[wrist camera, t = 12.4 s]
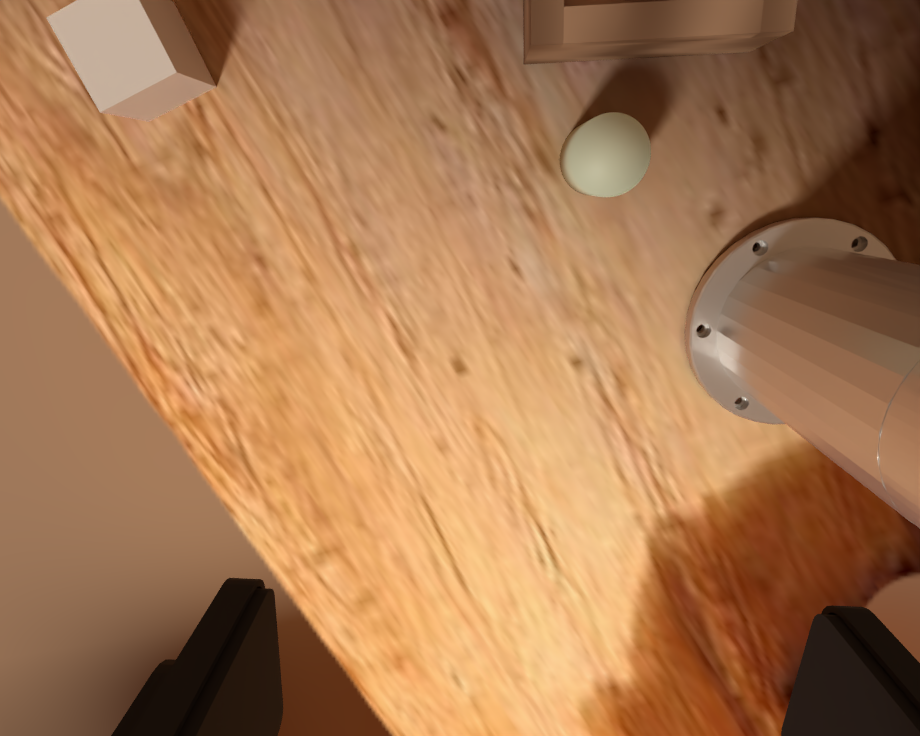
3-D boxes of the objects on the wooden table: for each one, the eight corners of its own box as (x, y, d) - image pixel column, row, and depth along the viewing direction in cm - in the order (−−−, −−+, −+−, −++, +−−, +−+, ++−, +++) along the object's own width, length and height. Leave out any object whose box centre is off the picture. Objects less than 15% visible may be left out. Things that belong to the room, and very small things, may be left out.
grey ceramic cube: (174, 2, 31) (125, -27, 26) (217, 87, 32) (176, 72, 27) (105, 40, 31) (46, 17, 27) (149, 121, 32) (100, 112, 28)
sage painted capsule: (632, 118, 32) (653, 110, 28) (628, 193, 33) (648, 195, 29) (559, 122, 32) (571, 114, 28) (559, 197, 33) (569, 198, 29)
